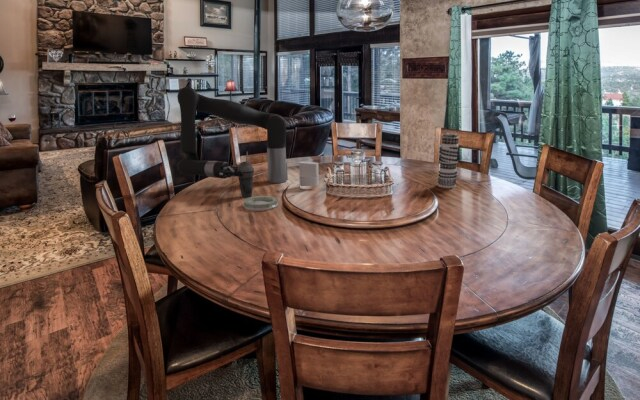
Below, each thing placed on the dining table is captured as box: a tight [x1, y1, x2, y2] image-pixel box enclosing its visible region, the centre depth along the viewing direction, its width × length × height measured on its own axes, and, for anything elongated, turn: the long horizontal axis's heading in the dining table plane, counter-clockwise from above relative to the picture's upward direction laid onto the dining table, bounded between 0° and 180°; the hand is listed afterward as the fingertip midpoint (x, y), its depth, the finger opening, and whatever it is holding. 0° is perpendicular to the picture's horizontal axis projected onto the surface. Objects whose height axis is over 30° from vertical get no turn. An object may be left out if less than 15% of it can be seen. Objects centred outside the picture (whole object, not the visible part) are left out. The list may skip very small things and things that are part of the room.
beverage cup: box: [237, 151, 255, 199], centre depth 192 cm, size 7×7×20 cm
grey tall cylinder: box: [437, 132, 461, 189], centre depth 207 cm, size 9×9×25 cm
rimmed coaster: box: [242, 195, 279, 212], centre depth 180 cm, size 14×14×2 cm
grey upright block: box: [298, 161, 319, 186], centre depth 208 cm, size 9×9×12 cm
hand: (248, 172), depth 191 cm, fingers open, 8 cm apart
